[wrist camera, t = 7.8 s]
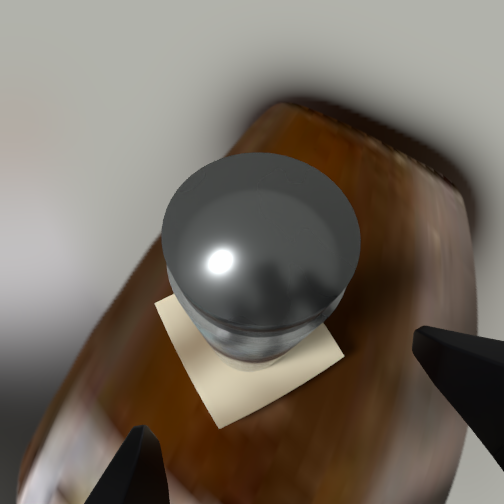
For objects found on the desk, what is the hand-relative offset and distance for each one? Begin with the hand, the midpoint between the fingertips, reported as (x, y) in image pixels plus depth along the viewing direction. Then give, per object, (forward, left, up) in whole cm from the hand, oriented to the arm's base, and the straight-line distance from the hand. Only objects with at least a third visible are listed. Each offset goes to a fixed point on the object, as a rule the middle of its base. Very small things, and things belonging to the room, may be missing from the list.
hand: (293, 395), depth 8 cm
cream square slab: (+4, -1, -13) cm, 14 cm away
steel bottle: (+4, -1, -11) cm, 12 cm away
